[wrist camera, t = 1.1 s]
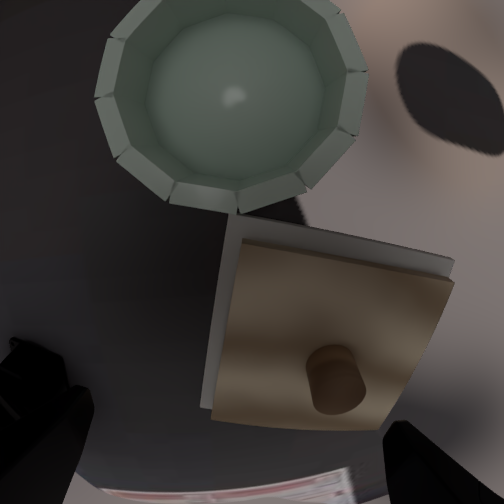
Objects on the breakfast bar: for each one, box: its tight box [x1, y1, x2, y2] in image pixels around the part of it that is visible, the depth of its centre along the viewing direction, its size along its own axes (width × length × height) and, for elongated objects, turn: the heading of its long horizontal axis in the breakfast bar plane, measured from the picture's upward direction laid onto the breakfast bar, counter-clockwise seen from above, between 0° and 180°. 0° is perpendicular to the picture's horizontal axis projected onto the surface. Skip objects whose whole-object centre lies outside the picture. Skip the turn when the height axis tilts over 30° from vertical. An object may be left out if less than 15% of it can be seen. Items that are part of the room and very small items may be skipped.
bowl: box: [94, 0, 369, 215], centre depth 14 cm, size 12×12×5 cm
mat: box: [200, 213, 455, 409], centre depth 21 cm, size 16×16×1 cm
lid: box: [211, 238, 454, 430], centre depth 19 cm, size 14×14×5 cm
